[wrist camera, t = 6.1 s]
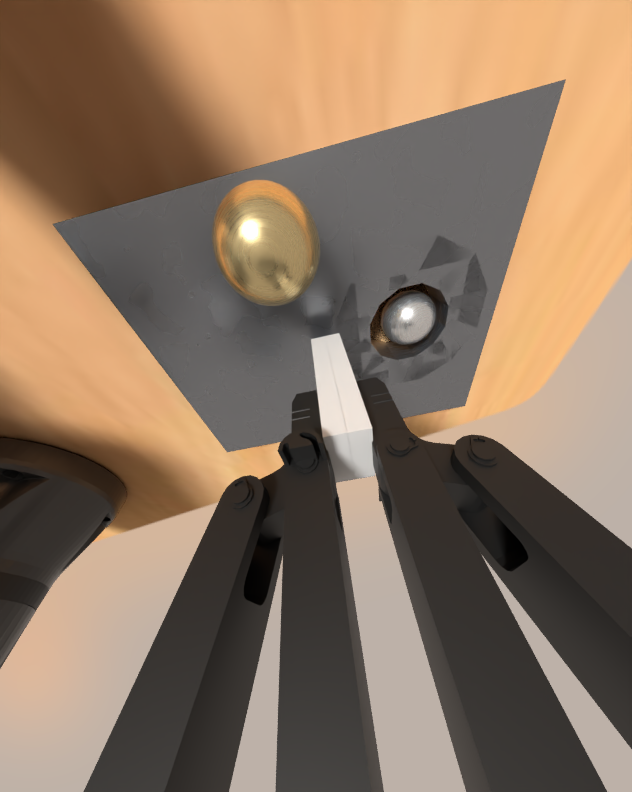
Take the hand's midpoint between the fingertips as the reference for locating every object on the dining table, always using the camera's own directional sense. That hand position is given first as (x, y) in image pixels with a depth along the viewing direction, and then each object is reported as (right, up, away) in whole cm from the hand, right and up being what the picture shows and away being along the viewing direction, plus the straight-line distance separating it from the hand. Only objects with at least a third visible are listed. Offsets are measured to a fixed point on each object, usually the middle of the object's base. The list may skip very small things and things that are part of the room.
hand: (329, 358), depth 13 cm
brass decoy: (-3, +4, -4) cm, 6 cm away
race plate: (0, +3, +3) cm, 4 cm away
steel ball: (+5, +3, +2) cm, 6 cm away
